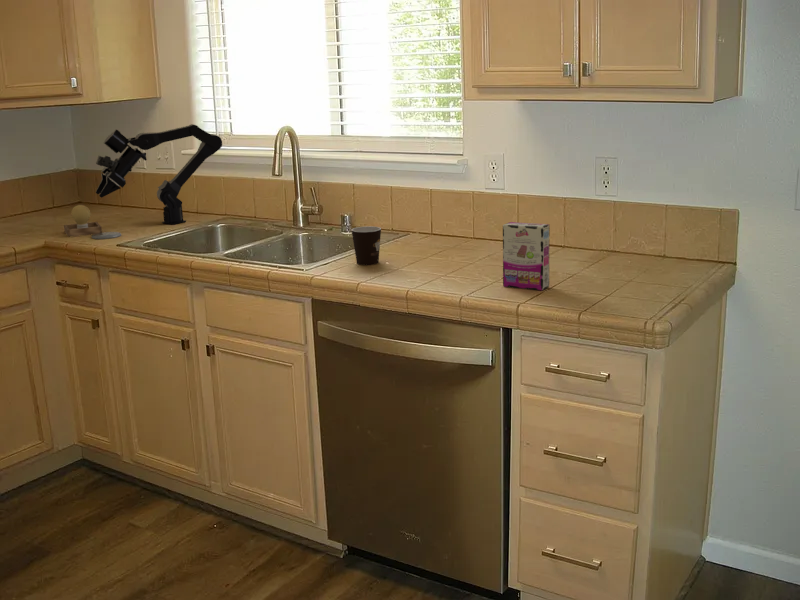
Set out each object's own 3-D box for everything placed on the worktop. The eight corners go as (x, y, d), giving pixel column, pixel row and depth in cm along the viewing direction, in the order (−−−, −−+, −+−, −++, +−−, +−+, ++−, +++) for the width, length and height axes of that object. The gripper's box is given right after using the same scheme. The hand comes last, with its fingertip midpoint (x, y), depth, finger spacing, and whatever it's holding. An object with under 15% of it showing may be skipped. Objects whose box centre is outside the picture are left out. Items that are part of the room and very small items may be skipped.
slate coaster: (109, 232, 325) (109, 230, 325) (127, 235, 320) (127, 233, 320) (85, 237, 318) (85, 235, 317) (103, 240, 312) (103, 238, 312)
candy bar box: (550, 286, 233) (550, 223, 229) (542, 291, 229) (543, 227, 224) (510, 282, 238) (509, 220, 234) (502, 286, 234) (501, 224, 230)
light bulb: (88, 230, 331) (85, 203, 329) (95, 232, 327) (91, 205, 324) (71, 232, 327) (67, 205, 325) (77, 235, 323) (74, 207, 320)
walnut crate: (97, 228, 334) (96, 221, 334) (102, 233, 324) (101, 226, 324) (64, 231, 330) (63, 225, 329) (68, 237, 320) (67, 230, 319)
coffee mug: (364, 267, 260) (363, 233, 257) (347, 262, 266) (345, 229, 264) (396, 260, 267) (395, 227, 264) (378, 256, 274) (376, 223, 271)
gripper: (104, 145, 332) (76, 177, 331) (112, 149, 316) (83, 183, 314) (128, 164, 337) (101, 197, 336) (137, 170, 321) (109, 204, 320)
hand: (98, 195), depth 326 cm, fingers open, 9 cm apart
